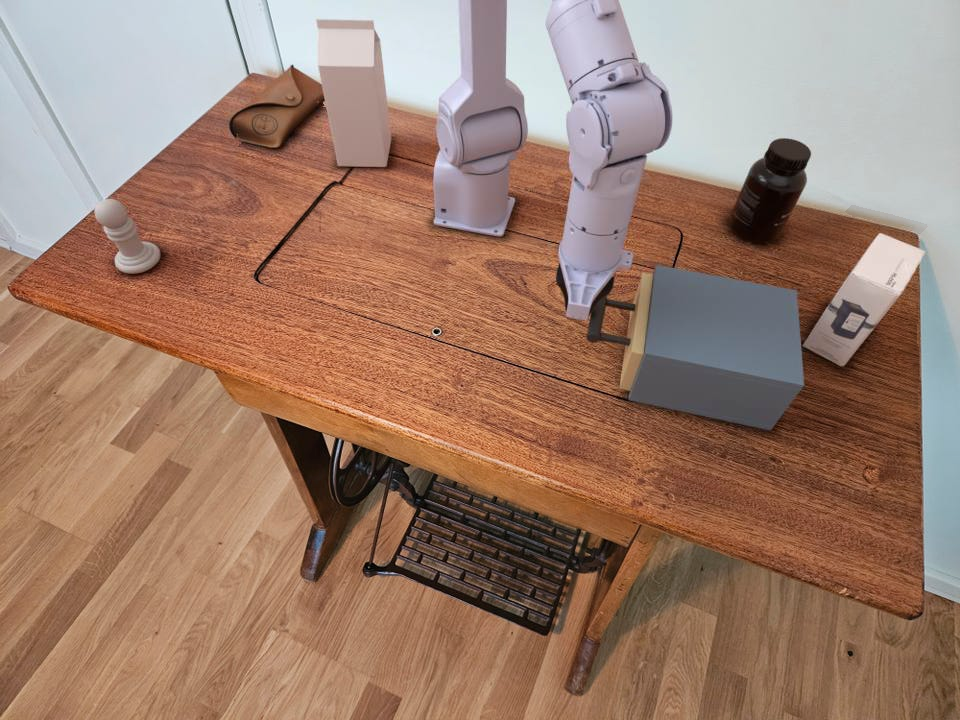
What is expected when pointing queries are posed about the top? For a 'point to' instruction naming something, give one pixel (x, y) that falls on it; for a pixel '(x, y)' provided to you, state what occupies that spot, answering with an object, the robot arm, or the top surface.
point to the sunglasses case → (277, 109)
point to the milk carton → (354, 91)
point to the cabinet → (720, 348)
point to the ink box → (864, 298)
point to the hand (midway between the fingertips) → (577, 314)
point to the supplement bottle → (770, 191)
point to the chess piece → (126, 238)
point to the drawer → (635, 328)
